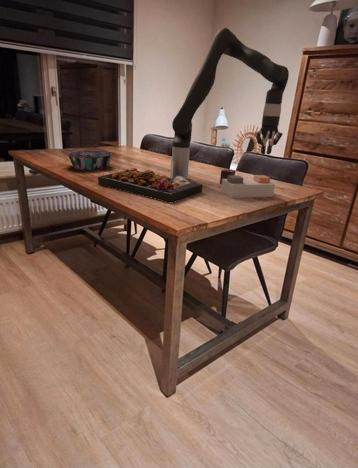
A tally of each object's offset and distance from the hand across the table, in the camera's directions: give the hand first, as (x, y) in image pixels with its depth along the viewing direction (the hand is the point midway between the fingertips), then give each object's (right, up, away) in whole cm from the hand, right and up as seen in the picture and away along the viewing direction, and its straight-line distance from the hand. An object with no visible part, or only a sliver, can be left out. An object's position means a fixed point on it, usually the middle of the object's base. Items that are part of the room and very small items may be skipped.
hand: (265, 154), depth 152 cm
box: (-15, -11, +23) cm, 29 cm away
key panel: (-8, -18, +6) cm, 20 cm away
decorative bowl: (-94, +3, +45) cm, 104 cm away
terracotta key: (-1, -14, +6) cm, 15 cm away
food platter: (-55, -16, +7) cm, 58 cm away
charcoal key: (-14, -14, +2) cm, 20 cm away
